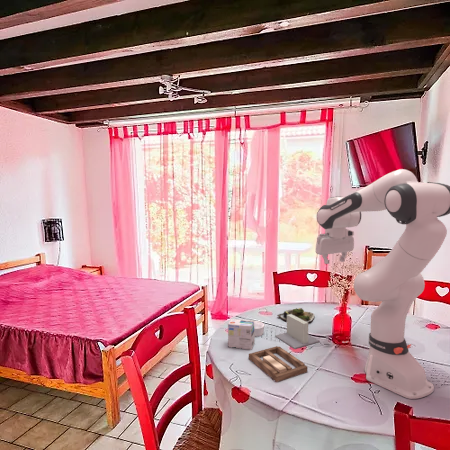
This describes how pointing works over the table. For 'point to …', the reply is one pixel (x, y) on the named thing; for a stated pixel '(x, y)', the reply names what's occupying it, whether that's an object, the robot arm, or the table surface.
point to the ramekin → (258, 328)
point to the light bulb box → (241, 334)
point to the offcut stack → (274, 364)
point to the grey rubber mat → (294, 342)
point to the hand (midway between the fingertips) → (334, 262)
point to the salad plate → (298, 315)
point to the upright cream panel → (297, 328)
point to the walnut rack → (287, 356)
